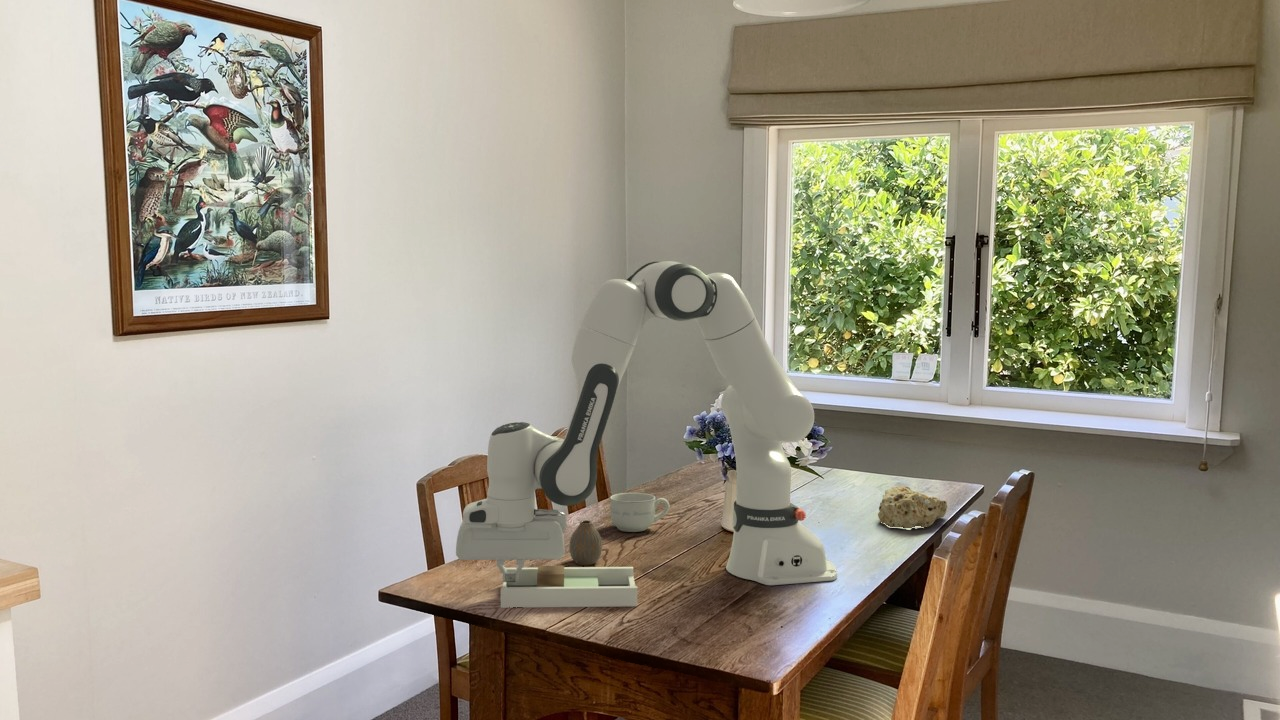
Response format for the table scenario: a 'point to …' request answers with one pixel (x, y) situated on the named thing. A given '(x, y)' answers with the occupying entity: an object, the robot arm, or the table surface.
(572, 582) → the box
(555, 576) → the walnut block
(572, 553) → the vase
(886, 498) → the rock
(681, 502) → the table surface
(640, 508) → the teacup
